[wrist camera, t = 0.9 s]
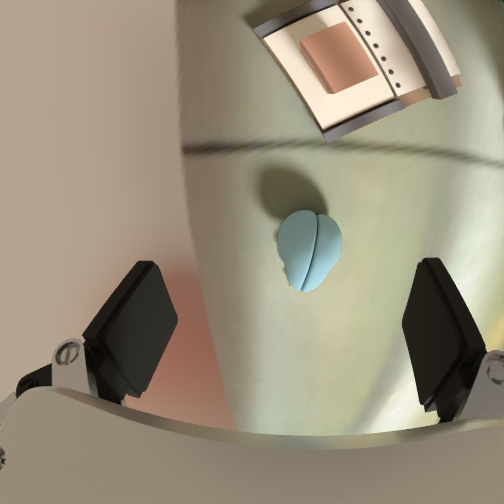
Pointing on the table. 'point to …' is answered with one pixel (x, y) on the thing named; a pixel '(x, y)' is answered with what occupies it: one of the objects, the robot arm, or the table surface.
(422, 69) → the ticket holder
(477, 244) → the table surface
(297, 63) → the block on cream tray
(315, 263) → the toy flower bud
